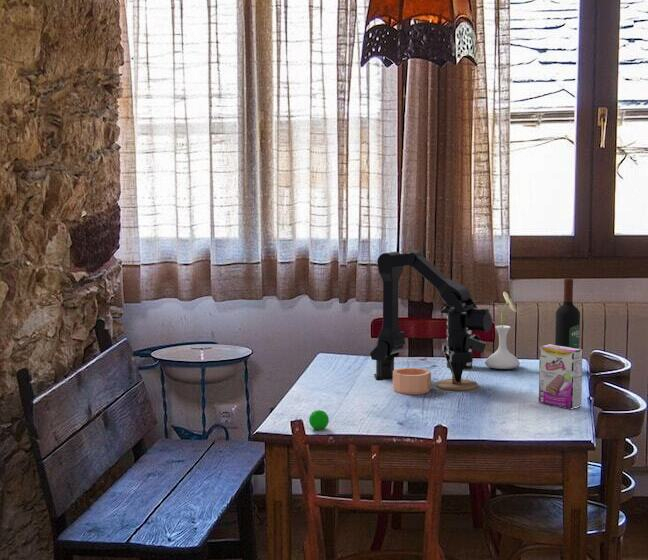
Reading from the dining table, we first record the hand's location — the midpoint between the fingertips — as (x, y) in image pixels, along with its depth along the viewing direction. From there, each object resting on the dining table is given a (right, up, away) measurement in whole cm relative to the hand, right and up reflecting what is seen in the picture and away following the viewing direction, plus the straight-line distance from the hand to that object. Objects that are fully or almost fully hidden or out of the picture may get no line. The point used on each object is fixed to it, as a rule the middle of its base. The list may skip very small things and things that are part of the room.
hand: (456, 380), depth 307 cm
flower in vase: (+19, +1, +29) cm, 35 cm away
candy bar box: (+26, -5, -21) cm, 34 cm away
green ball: (-41, -9, -44) cm, 61 cm away
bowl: (-14, -3, -3) cm, 15 cm away
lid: (0, -2, 0) cm, 2 cm away
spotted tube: (+5, +1, +30) cm, 31 cm away
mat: (0, -2, 0) cm, 2 cm away
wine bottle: (+38, 0, +22) cm, 44 cm away
